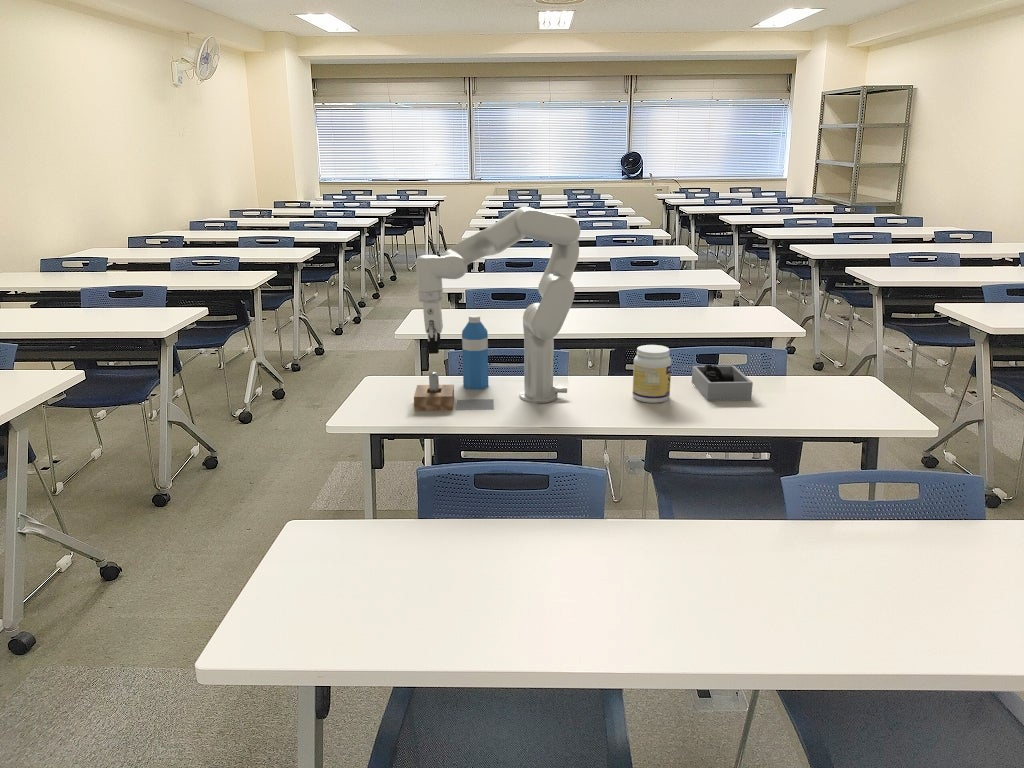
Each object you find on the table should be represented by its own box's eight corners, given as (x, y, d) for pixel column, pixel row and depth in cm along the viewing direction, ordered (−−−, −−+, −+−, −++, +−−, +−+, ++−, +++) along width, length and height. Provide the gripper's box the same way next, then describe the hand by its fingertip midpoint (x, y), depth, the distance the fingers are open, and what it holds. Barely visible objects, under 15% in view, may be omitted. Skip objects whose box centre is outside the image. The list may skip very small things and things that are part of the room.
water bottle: (458, 384, 260) (456, 314, 252) (483, 380, 264) (481, 312, 256) (468, 392, 252) (466, 320, 244) (493, 388, 255) (492, 317, 248)
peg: (439, 403, 241) (438, 371, 237) (439, 406, 238) (437, 374, 234) (430, 403, 241) (429, 371, 237) (429, 406, 238) (428, 374, 234)
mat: (493, 400, 243) (493, 399, 243) (493, 410, 234) (493, 409, 234) (457, 400, 243) (457, 399, 243) (455, 411, 234) (455, 410, 234)
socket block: (454, 398, 245) (453, 384, 244) (452, 411, 234) (452, 396, 232) (417, 399, 245) (417, 385, 243) (414, 411, 233) (413, 396, 232)
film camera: (735, 399, 243) (738, 373, 240) (705, 398, 244) (707, 372, 242) (728, 385, 258) (730, 360, 255) (699, 384, 259) (701, 359, 256)
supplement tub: (672, 404, 239) (675, 353, 234) (634, 404, 239) (637, 353, 234) (665, 392, 251) (668, 343, 245) (629, 391, 251) (631, 343, 246)
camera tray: (732, 381, 261) (733, 365, 259) (751, 399, 242) (752, 382, 240) (691, 382, 260) (692, 366, 258) (707, 400, 242) (708, 383, 240)
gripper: (441, 300, 220) (445, 356, 225) (444, 289, 236) (448, 341, 242) (415, 302, 220) (420, 357, 225) (420, 290, 236) (425, 342, 242)
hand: (434, 349), depth 234 cm, fingers open, 9 cm apart
